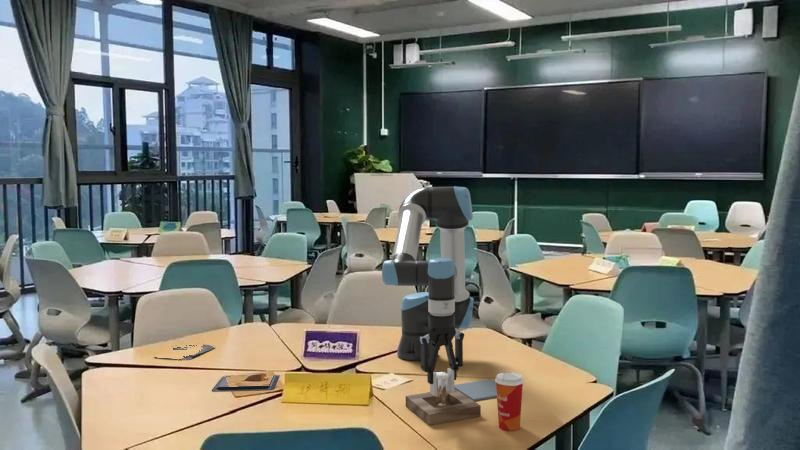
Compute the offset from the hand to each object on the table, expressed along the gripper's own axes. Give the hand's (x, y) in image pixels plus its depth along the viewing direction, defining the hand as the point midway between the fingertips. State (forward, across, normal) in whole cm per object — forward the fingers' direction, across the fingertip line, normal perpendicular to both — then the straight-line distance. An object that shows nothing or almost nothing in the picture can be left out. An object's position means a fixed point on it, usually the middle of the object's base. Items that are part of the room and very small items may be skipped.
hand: (442, 392), depth 183 cm
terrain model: (+7, -62, +96) cm, 115 cm away
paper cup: (+5, +11, -18) cm, 22 cm away
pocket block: (+5, 0, 0) cm, 5 cm away
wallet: (+6, -47, +49) cm, 68 cm away
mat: (+5, +19, +10) cm, 22 cm away
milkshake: (+3, 0, 0) cm, 3 cm away
